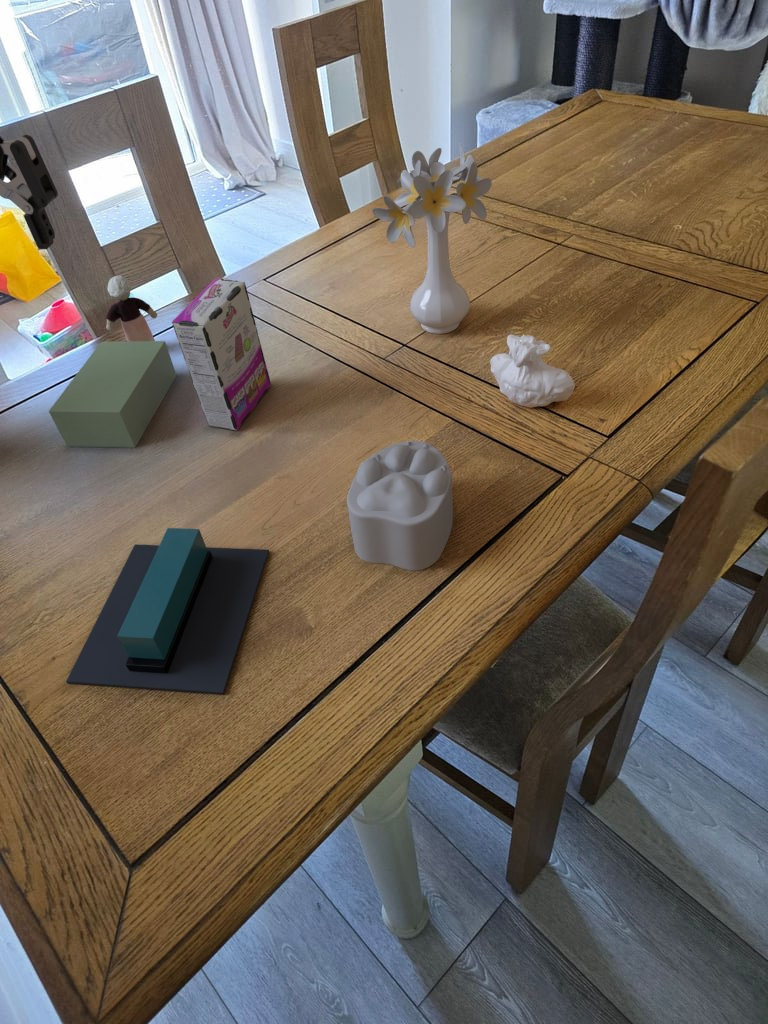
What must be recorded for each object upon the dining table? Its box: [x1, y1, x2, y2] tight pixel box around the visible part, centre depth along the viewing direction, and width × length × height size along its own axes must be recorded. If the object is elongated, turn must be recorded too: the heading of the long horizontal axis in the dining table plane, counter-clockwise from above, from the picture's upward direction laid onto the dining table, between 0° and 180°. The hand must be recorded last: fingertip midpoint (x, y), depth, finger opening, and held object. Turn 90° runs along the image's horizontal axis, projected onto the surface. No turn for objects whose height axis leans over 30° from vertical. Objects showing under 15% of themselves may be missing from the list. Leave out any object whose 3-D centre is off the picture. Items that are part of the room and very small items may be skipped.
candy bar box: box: [171, 278, 272, 432], centre depth 92 cm, size 11×5×16 cm, turn 161°
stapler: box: [117, 527, 213, 674], centre depth 71 cm, size 15×4×5 cm, turn 173°
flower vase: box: [371, 141, 493, 335], centre depth 100 cm, size 13×18×25 cm
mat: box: [65, 544, 270, 696], centre depth 73 cm, size 16×18×1 cm
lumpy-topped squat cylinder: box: [346, 440, 454, 572], centre depth 76 cm, size 10×13×9 cm
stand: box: [48, 340, 177, 449], centre depth 98 cm, size 10×17×6 cm, turn 173°
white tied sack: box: [489, 333, 576, 409], centre depth 90 cm, size 12×8×11 cm
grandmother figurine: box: [105, 275, 158, 341], centre depth 106 cm, size 8×4×13 cm, turn 130°
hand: (10, 247), depth 74 cm, fingers open, 8 cm apart
